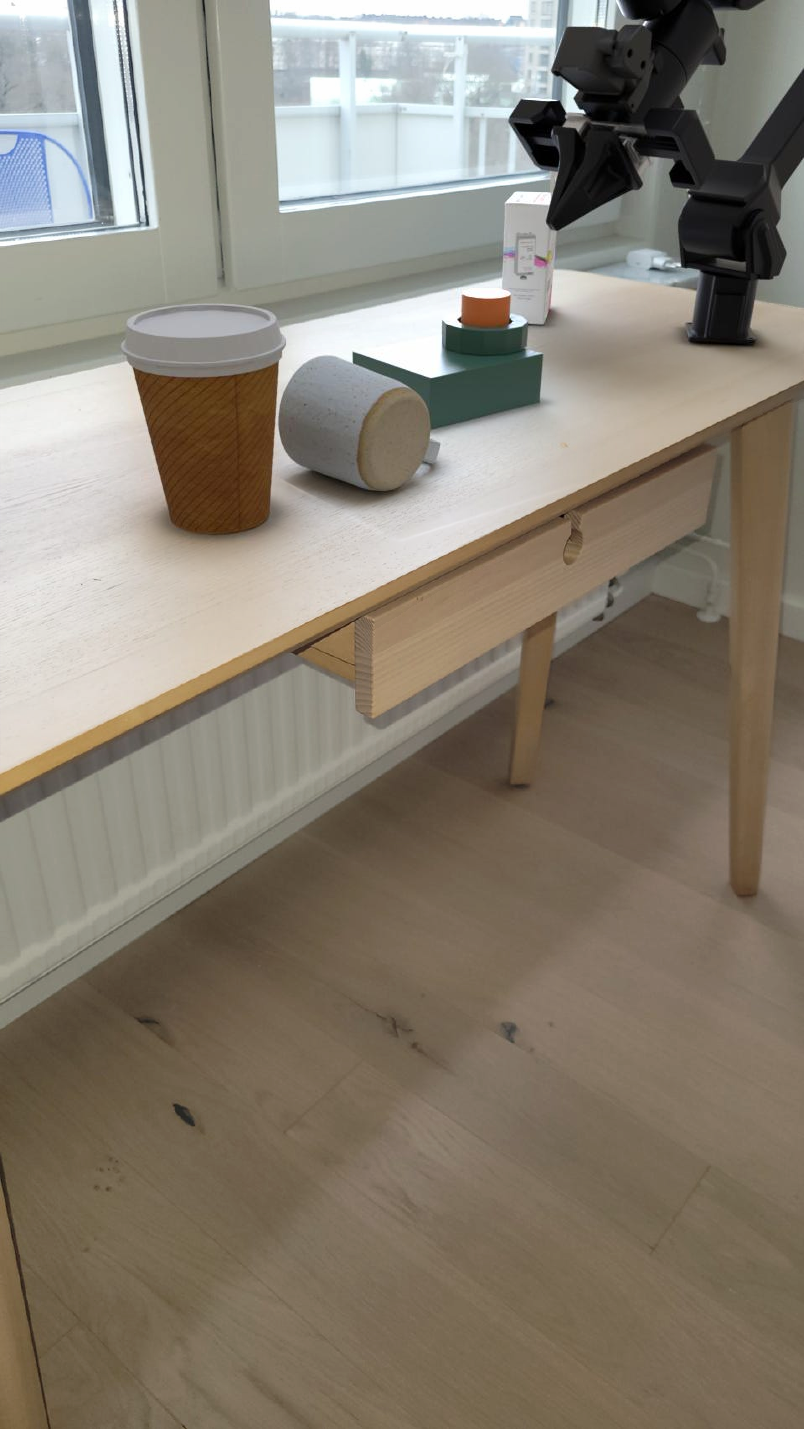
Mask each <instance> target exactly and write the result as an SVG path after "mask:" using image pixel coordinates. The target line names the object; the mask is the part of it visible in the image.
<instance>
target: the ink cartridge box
mask: <svg viewBox="0 0 804 1429" xmlns="http://www.w3.org/2000/svg"><path fill="white" fill-rule="evenodd" d="M557 174H558V172H553V171H549V180H550V185H549V187H550V188H549V190H550V191H549V192H542V191H541V192H540V191H538V192H537V191H514V192H513V194H512V195H511V196H510V197H509V198H508V199H507V200H506V201H505V202H504V226H503V227H504V228H503V229H504V230H503V250H502V251H503V252H502V274H501V275H502V276H501V278H502V280H501V290H505V291H508V292H510V293H511V303H510V313H511V314H515V315H519V316H522V317H524V318H525V319H526V320H527V321H528V325H544V324H545V323H546V320H547V317H548V314H549V311H550V308H551V305H552V304H551V303H552V290H553V279H554V267H555V256H556V255H555V254H556V243H557V231H554V230H550V229H549V227H548V226H547V224H546V217H547V213H548V209H549V205H550V202H551V198H552V194H553V190H554V186H555V183H556V178H557Z"/></svg>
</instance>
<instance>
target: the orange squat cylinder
mask: <svg viewBox="0 0 804 1429" xmlns="http://www.w3.org/2000/svg"><path fill="white" fill-rule="evenodd" d="M510 303H511V293H510V292H508V291H505V290H502V288H493V287H490V288H489V287H482V288H481V287H478V288H469V289H464V290H463V291H462V292H461V310H460V312H461V323H462V324H466V325H470V326H479V327H498V326H504V325H509V320H510Z"/></svg>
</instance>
